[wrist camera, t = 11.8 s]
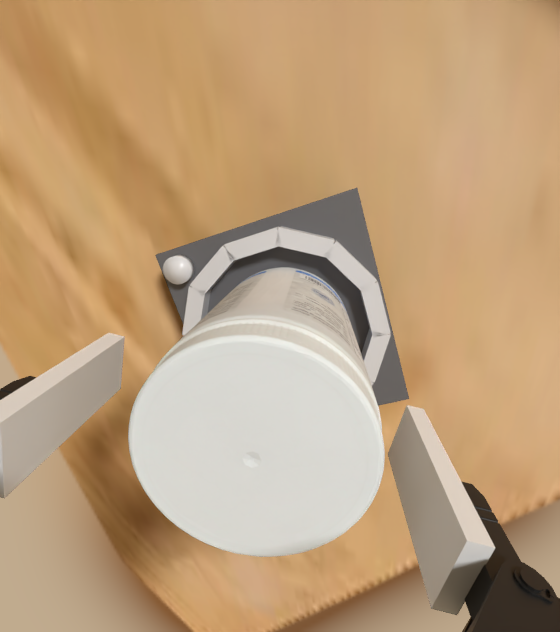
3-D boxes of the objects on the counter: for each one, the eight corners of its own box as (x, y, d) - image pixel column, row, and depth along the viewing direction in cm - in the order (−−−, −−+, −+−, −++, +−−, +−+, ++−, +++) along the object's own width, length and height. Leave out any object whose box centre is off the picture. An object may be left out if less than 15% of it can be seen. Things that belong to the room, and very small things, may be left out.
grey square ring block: (176, 249, 30) (145, 257, 24) (351, 190, 27) (359, 186, 22) (239, 411, 33) (224, 448, 28) (398, 375, 31) (414, 409, 25)
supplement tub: (233, 388, 28) (149, 563, 14) (212, 272, 26) (84, 346, 12) (356, 380, 27) (395, 565, 13) (347, 257, 24) (383, 320, 10)
